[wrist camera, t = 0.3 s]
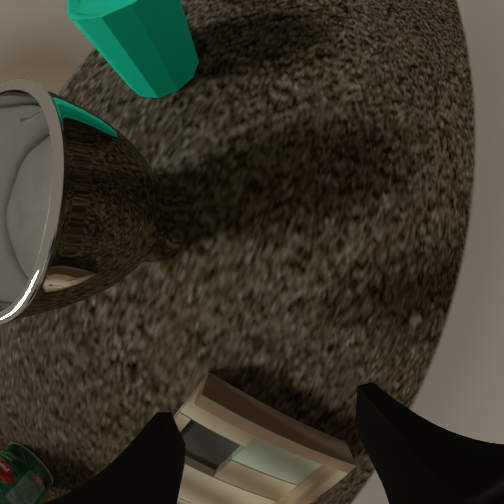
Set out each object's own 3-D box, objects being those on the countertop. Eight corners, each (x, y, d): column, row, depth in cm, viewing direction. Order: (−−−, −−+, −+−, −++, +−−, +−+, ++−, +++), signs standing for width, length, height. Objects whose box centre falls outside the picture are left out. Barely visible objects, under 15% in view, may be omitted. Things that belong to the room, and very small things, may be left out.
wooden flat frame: (217, 537, 22) (215, 556, 19) (112, 490, 22) (102, 508, 18) (346, 442, 21) (356, 465, 18) (208, 371, 20) (201, 394, 17)
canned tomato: (17, 434, 21) (-29, 477, 10) (61, 479, 22) (25, 529, 11) (4, 449, 22) (-34, 485, 11) (43, 488, 22) (11, 530, 11)
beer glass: (98, 190, 20) (-70, 150, 5) (183, 155, 19) (64, 25, 4) (124, 280, 20) (-43, 348, 5) (212, 250, 20) (109, 300, 5)
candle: (179, 28, 19) (141, -74, 7) (212, 71, 19) (183, -47, 7) (117, 65, 19) (46, -19, 7) (143, 112, 19) (60, 22, 7)
